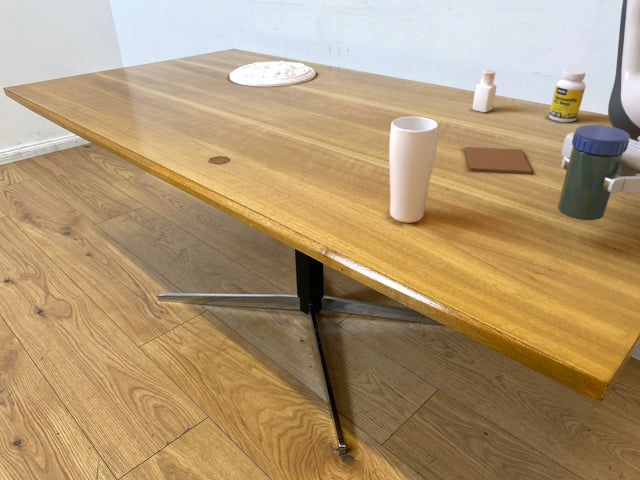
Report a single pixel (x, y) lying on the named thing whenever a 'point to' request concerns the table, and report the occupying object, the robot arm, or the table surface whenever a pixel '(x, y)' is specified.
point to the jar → (587, 185)
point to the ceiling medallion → (272, 74)
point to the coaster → (497, 160)
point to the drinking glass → (411, 166)
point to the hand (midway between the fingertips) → (585, 174)
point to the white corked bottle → (485, 92)
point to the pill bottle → (568, 96)
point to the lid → (600, 140)
